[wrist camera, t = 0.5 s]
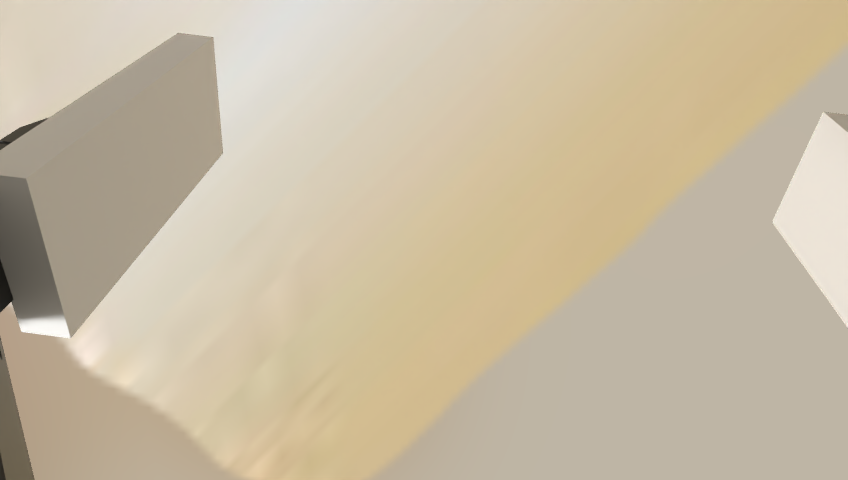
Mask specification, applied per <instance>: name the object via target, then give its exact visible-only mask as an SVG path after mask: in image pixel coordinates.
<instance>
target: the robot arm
mask: <svg viewBox="0 0 848 480" xmlns="http://www.w3.org/2000/svg"><path fill="white" fill-rule="evenodd" d="M222 154H223V147H222V135H221V124H220V112H219V100H218V89H217V77H216V65H215V53H214V42H213V37H207V36H199V35H191V34H182V33H177V34H176V35H174V36H173V37H171V38H170V39H168V40H167V41H165V42H164V43H162V44H161V45H159V46H158V47H156V48H155V49H153V50H152V51H150V52H149V53H147V54H146V55H144V56H143V57H141V58H139V59H138V60H136V61H135V62H133V63H132V64H130V65H129V66H127V67H126V68H124V69H123V70H121V71H120V72H118V73H117V74H115V75H114V76H112V77H111V78H109V79H108V80H106V81H105V82H103V83H101V84H100V85H98V86H97V87H95V88H94V89H92V90H91V91H89V92H88V93H86V94H85V95H83V96H82V97H80V98H79V99H77V100H76V101H74V102H73V103H71V104H70V105H68V106H67V107H65V108H63V109H62V110H60V111H59V112H57V113H56V114H54V115H53V116H51V117H50V118H46V119H43V120H41V121H38V122H35V123H32V124H29V125H26V126H23V127H20V128H18V129H17V130H15V131H14V132H12V133H11V134H9V135H7V136H6V137H4V138H3V139H1V140H0V312H1V311H2V310H3V309H4V308H5V307H6V306H7V305H8V304H9V303H10V302H11V301H12V305H13V308H14V311H15V314H16V317H17V319H18V323H19V325H20V329H21V331H22V332H27V333H34V334H42V335H49V336H57V337H64V338H71V337H72V336H73V335H74V334H75V332H76V331H77V330H78V329H79V328H80V326H81V325H82V324H83V323H84V322H85V320H86V319H87V318H88V317H89V315H90V314H91V313H92V312H93V311H94V309H95V308H96V307H97V306H98V304H99V303H100V302H101V301H102V300H103V298H104V297H105V296H106V295H107V294H108V292H109V291H110V290H111V289H112V287H113V286H114V285H115V284H116V283H117V281H118V280H119V279H120V278H121V276H122V275H123V274H124V273H125V272H126V270H127V269H128V268H129V267H130V266H131V264H132V263H133V262H134V261H135V259H136V258H137V257H138V256H139V255H140V253H141V252H142V251H143V250H144V248H145V247H146V246H147V245H148V244H149V242H150V241H151V240H152V239H153V238H154V236H155V235H156V234H157V233H158V231H159V230H160V229H161V228H162V227H163V225H164V224H165V223H166V222H167V220H168V219H169V218H170V217H171V216H172V214H173V213H174V212H175V211H176V210H177V208H178V207H179V206H180V205H181V203H182V202H183V201H184V200H185V199H186V197H187V196H188V195H189V194H190V192H191V191H192V190H193V189H194V188H195V186H196V185H197V184H198V183H199V182H200V180H201V179H202V178H203V177H204V175H205V174H206V173H207V172H208V171H209V169H210V168H211V167H212V166H213V164H214V163H215V162H216V161H217V160H218V158H219V157H220V156H221V155H222ZM772 222H773V224H774V225H775V227H776V228H777V230H778V231H779V232H780V234H781V235H782V237H783V238H784V239H785V241H786V242H787V243H788V245H789V246H790V248H791V249H792V250H793V252H794V253H795V255H796V256H797V257H798V259H799V260H800V262H801V263H802V264H803V266H804V267H805V269H806V270H807V271H808V273H809V274H810V276H811V277H812V278H813V280H814V281H815V283H816V284H817V285H818V287H819V288H820V290H821V291H822V292H823V294H824V295H825V297H826V298H827V299H828V301H829V302H830V304H831V305H832V306H833V308H834V309H835V311H836V312H837V313H838V315H839V316H840V317H841V319H842V320H843V322H844V323H845V325H846V326H847V327H848V115H845V114H837V113H829V112H823V114H822V116H821V118H820V120H819V122H818V124H817V127H816V129H815V131H814V133H813V135H812V137H811V139H810V142H809V144H808V146H807V148H806V150H805V152H804V155H803V157H802V159H801V161H800V163H799V165H798V167H797V170H796V172H795V174H794V176H793V179H792V180H791V183H790V185H789V187H788V189H787V191H786V193H785V196H784V198H783V200H782V202H781V204H780V206H779V208H778V211H777V213H776V215H775V217H774V219H773V221H772ZM0 480H34V476H33V471H32V467H31V463H30V459H29V455H28V450H27V447H26V442H25V438H24V434H23V430H22V426H21V422H20V417H19V413H18V409H17V405H16V401H15V396H14V392H13V388H12V384H11V379H10V375H9V371H8V367H7V363H6V359H5V354H4V350H3V346H2V342H1V338H0Z"/></svg>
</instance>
